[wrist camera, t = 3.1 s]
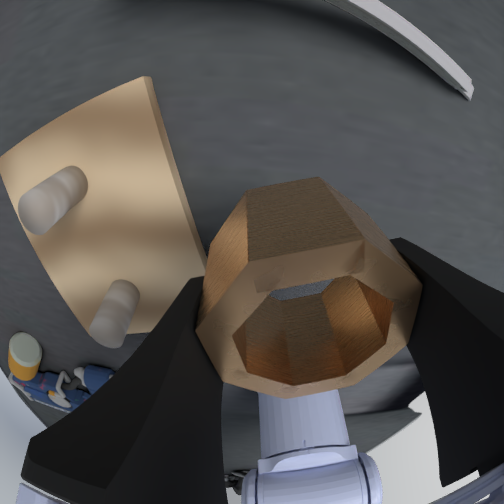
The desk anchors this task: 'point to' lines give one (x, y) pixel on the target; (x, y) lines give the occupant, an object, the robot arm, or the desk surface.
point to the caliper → (408, 40)
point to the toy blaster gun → (50, 376)
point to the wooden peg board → (107, 211)
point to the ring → (308, 307)
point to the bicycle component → (235, 481)
